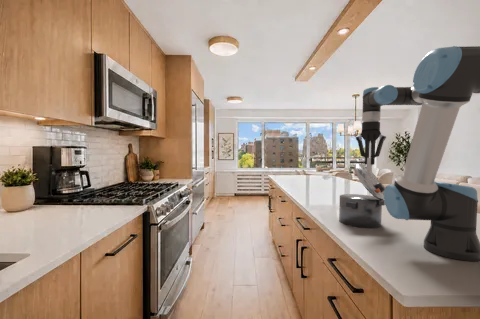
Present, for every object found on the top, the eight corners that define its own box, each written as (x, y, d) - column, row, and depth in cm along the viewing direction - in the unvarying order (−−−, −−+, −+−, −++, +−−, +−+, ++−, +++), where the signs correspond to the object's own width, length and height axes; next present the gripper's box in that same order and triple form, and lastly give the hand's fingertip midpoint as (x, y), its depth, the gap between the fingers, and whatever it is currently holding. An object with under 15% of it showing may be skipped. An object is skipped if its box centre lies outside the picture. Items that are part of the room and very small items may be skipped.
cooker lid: (376, 202, 103) (383, 198, 101) (348, 165, 110) (355, 161, 108) (388, 197, 116) (394, 193, 114) (362, 164, 124) (368, 160, 122)
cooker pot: (377, 233, 100) (378, 204, 100) (330, 223, 114) (330, 197, 114) (391, 222, 117) (392, 197, 117) (349, 214, 131) (350, 192, 131)
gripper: (388, 121, 113) (387, 172, 114) (359, 123, 122) (357, 170, 123) (384, 119, 108) (382, 173, 109) (353, 122, 117) (352, 171, 118)
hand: (369, 171), depth 116 cm, fingers closed
